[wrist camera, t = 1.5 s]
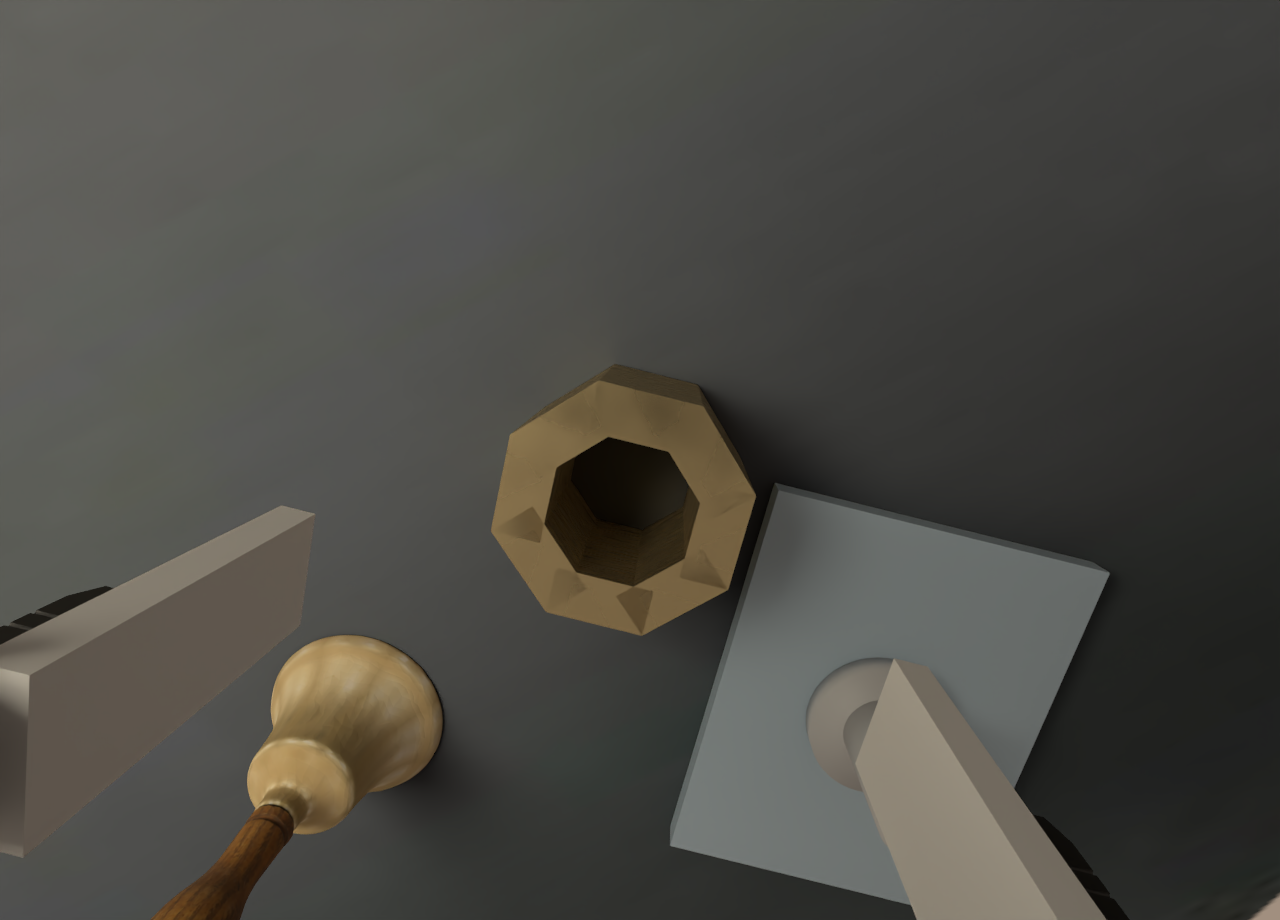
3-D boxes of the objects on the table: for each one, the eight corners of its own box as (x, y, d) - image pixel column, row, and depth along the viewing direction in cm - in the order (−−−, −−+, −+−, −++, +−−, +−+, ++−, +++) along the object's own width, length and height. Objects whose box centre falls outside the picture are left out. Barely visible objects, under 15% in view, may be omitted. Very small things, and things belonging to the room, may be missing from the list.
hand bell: (354, 600, 31) (27, 902, 15) (478, 723, 32) (292, 1121, 16) (239, 701, 32) (-163, 1069, 17) (362, 815, 33) (92, 1257, 18)
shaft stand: (774, 482, 28) (807, 541, 21) (1092, 561, 28) (1228, 646, 21) (670, 826, 33) (668, 969, 26) (946, 894, 33) (1020, 1055, 26)
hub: (556, 349, 28) (524, 361, 22) (755, 399, 28) (777, 424, 22) (517, 537, 30) (478, 595, 24) (703, 583, 30) (709, 652, 24)
